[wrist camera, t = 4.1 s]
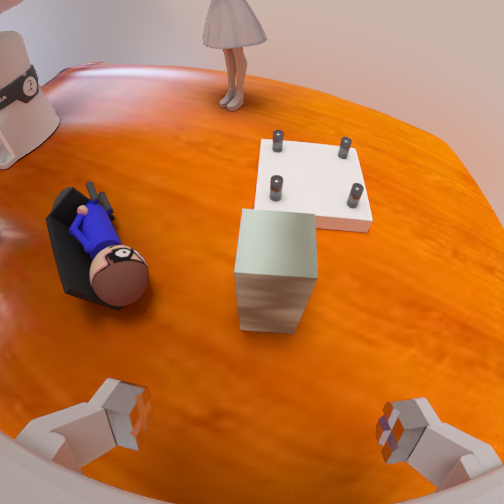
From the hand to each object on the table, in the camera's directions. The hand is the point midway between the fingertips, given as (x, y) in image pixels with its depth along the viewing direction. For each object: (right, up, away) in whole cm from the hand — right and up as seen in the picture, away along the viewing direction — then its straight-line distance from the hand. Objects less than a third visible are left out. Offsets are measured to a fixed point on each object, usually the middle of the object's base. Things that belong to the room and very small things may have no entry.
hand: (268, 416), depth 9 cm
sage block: (+1, +1, +17) cm, 17 cm away
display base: (+6, +13, +25) cm, 29 cm away
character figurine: (-15, +4, +19) cm, 25 cm away
